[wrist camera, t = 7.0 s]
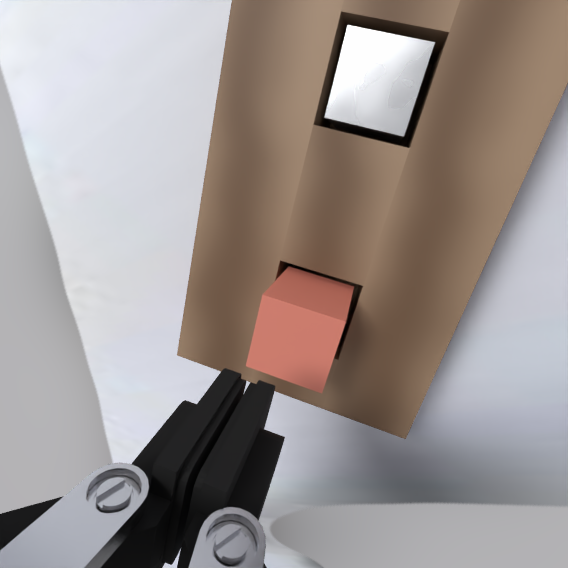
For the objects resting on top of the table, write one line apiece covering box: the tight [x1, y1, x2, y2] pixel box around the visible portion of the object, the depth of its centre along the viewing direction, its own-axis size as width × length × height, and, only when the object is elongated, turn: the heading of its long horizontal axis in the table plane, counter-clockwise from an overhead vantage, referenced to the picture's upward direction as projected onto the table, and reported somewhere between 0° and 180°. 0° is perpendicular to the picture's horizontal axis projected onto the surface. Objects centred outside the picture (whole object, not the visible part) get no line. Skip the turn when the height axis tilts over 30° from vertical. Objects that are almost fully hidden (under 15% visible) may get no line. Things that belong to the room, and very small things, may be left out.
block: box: [177, 0, 568, 439], centre depth 20 cm, size 14×22×6 cm, turn 166°
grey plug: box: [324, 25, 435, 143], centre depth 18 cm, size 4×4×5 cm
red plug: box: [246, 267, 354, 393], centre depth 18 cm, size 4×4×5 cm
